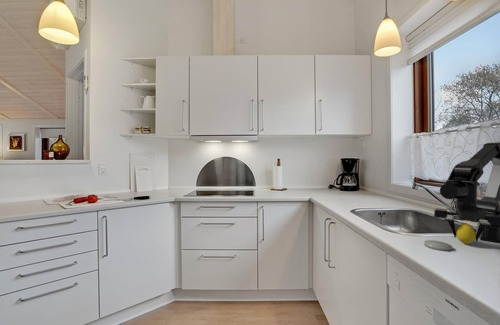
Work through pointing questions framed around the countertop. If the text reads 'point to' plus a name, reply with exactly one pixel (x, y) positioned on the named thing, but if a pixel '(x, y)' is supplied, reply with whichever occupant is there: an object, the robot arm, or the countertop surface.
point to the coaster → (438, 245)
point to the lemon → (465, 233)
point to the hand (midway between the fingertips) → (465, 238)
